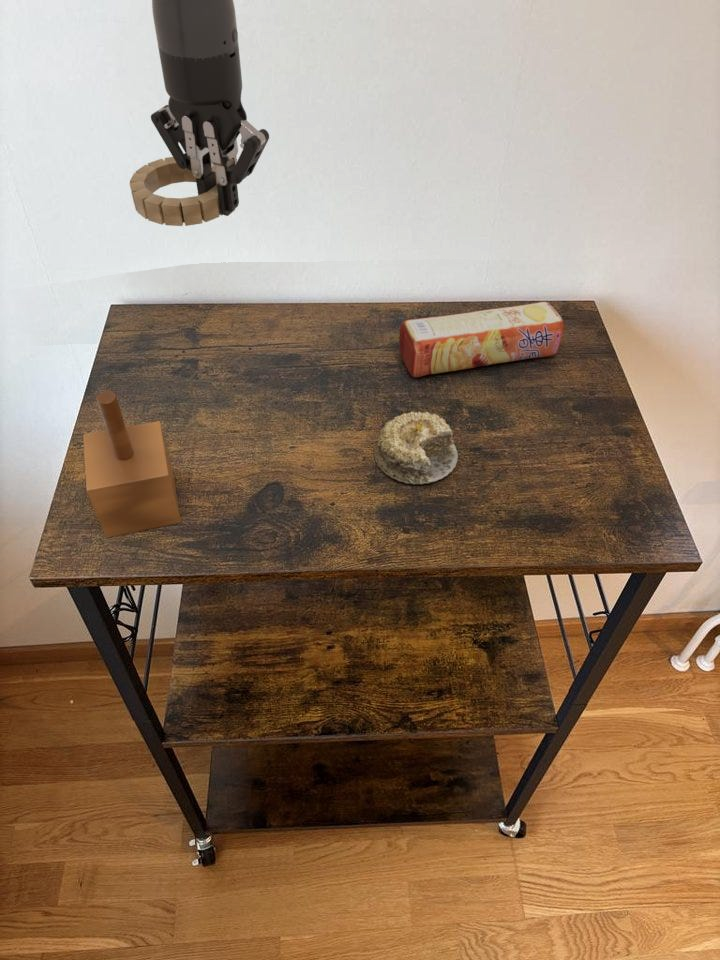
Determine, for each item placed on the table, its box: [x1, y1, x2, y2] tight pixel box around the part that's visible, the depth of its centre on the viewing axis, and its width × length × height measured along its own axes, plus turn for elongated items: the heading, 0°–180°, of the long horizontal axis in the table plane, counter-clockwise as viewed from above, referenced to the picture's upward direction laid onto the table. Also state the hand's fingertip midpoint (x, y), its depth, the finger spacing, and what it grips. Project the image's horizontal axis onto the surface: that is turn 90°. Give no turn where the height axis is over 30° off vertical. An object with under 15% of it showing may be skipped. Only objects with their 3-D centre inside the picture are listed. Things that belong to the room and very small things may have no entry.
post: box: [82, 390, 182, 539], centre depth 75 cm, size 8×8×16 cm
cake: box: [373, 411, 459, 485], centre depth 85 cm, size 10×10×5 cm
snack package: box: [398, 301, 565, 378], centre depth 96 cm, size 21×7×7 cm, turn 105°
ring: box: [129, 156, 223, 227], centre depth 83 cm, size 11×11×2 cm
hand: (220, 209), depth 82 cm, fingers closed on ring, 1 cm apart
